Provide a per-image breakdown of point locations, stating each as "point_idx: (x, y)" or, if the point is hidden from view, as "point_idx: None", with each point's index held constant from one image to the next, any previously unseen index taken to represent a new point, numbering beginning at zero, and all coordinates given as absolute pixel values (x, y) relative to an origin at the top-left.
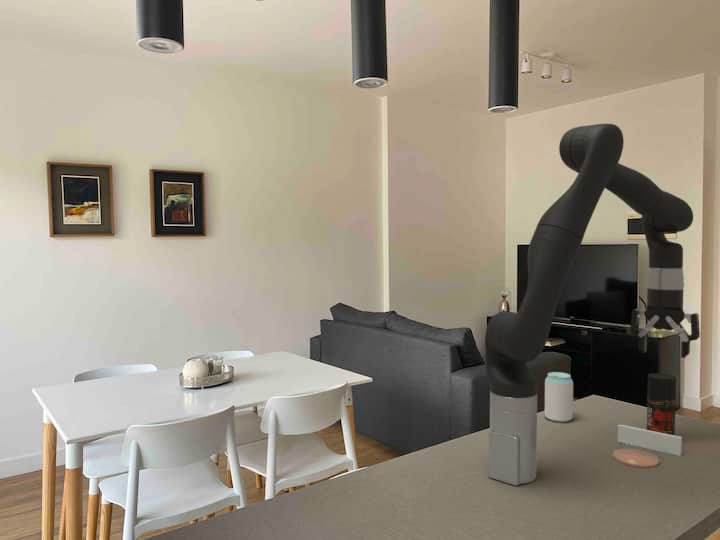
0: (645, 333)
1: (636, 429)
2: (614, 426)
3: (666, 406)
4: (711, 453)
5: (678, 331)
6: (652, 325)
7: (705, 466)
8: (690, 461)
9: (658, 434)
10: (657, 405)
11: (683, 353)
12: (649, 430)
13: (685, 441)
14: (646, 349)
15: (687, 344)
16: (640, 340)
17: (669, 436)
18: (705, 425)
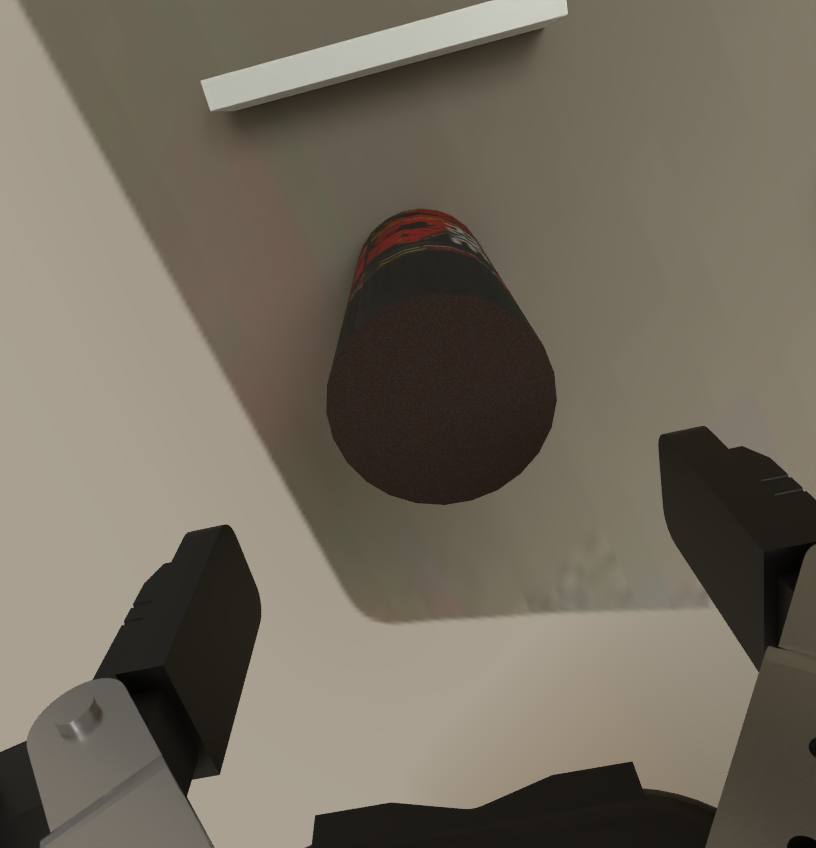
0: (795, 609)
1: (447, 13)
2: (658, 247)
3: (365, 272)
4: (169, 260)
5: (111, 804)
6: (738, 794)
7: (79, 43)
8: (157, 50)
9: (320, 48)
10: (415, 244)
11: (187, 553)
12: (384, 63)
13: (322, 323)
14: (675, 536)
15: (109, 673)
16: (807, 525)
17: (261, 66)
18: (373, 586)
